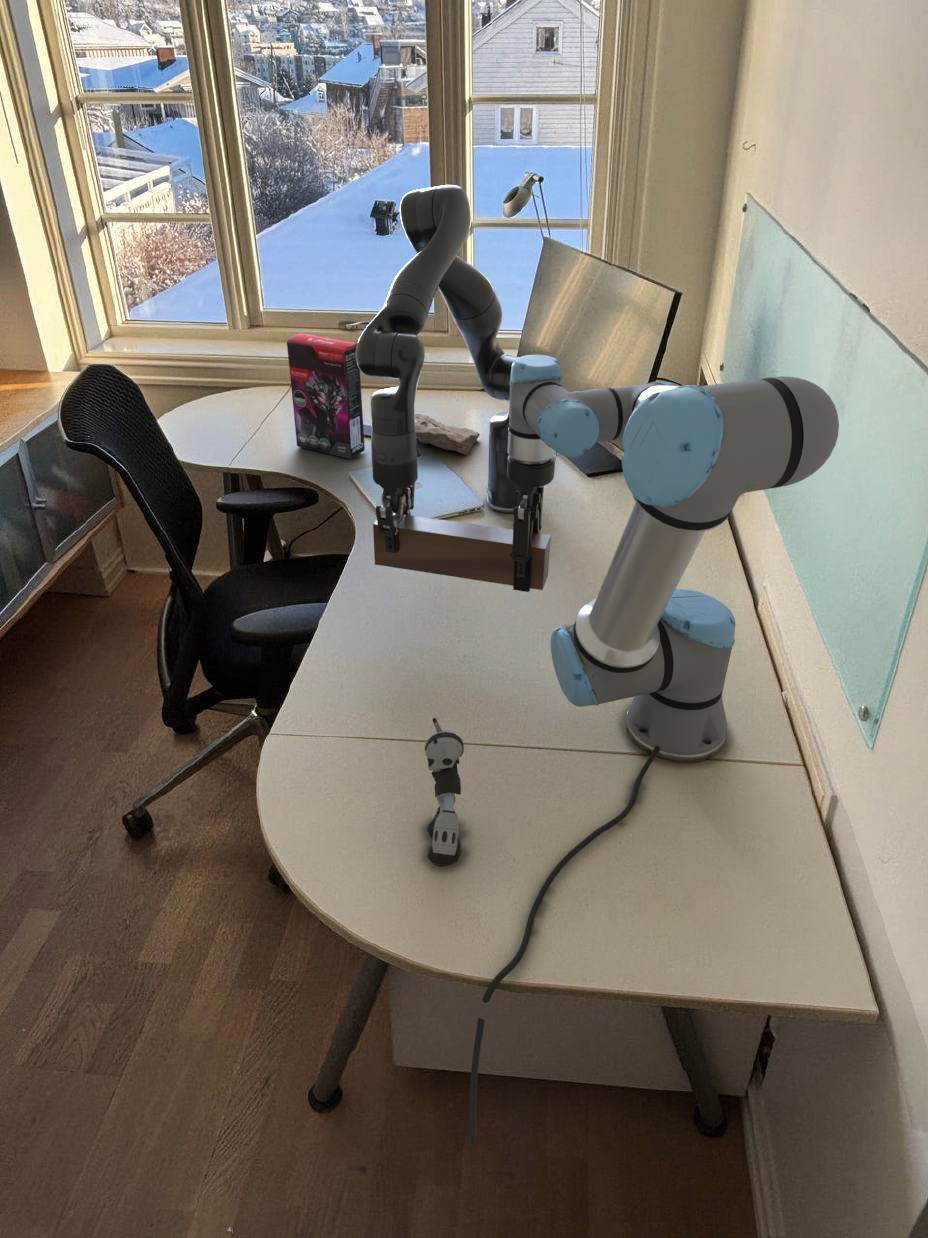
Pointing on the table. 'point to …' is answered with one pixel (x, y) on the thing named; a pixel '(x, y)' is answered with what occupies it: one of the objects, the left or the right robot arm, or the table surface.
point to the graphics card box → (326, 395)
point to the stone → (444, 434)
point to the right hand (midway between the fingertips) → (525, 581)
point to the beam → (461, 550)
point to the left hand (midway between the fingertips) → (397, 543)
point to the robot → (444, 794)
